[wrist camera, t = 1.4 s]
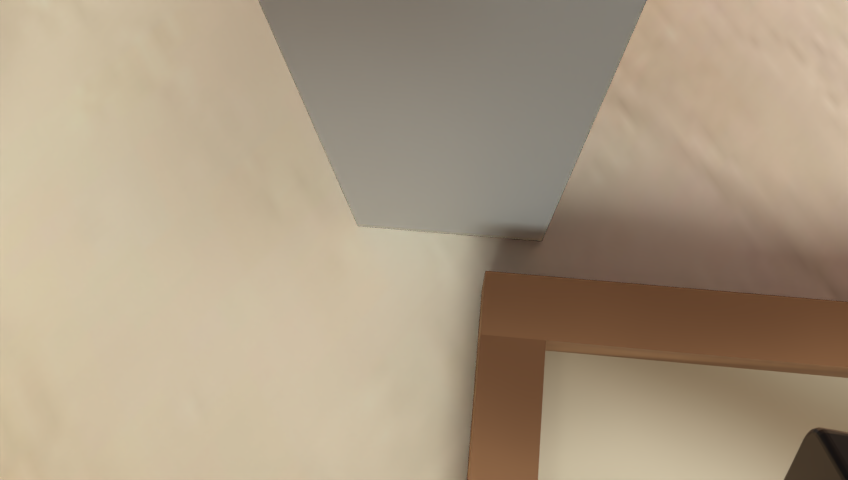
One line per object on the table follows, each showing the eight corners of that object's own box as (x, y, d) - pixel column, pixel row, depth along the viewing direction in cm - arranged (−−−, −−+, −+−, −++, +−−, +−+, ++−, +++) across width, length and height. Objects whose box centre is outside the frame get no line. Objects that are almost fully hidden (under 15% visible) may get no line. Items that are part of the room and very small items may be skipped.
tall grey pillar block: (541, 241, 21) (668, -50, 9) (357, 226, 22) (225, -77, 9) (550, 104, 22) (674, -335, 10) (374, 91, 23) (273, -351, 10)
